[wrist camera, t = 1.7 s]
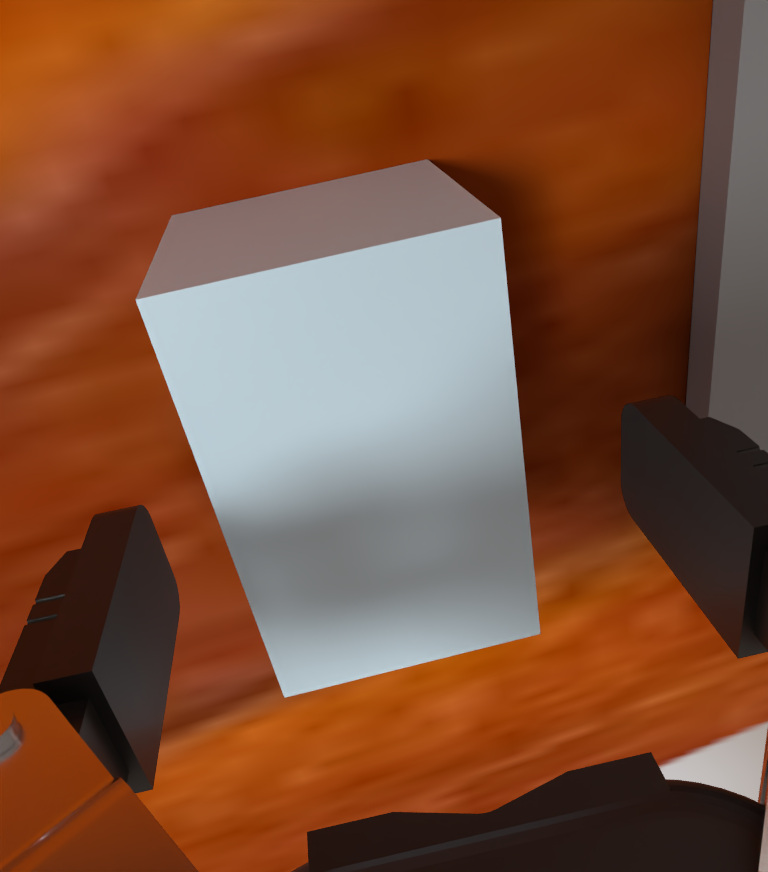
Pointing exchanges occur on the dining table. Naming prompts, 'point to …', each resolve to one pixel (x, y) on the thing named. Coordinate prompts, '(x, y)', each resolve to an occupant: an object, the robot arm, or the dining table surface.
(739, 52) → the charcoal baseplate
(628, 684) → the dining table surface
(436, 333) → the pale blue brick
